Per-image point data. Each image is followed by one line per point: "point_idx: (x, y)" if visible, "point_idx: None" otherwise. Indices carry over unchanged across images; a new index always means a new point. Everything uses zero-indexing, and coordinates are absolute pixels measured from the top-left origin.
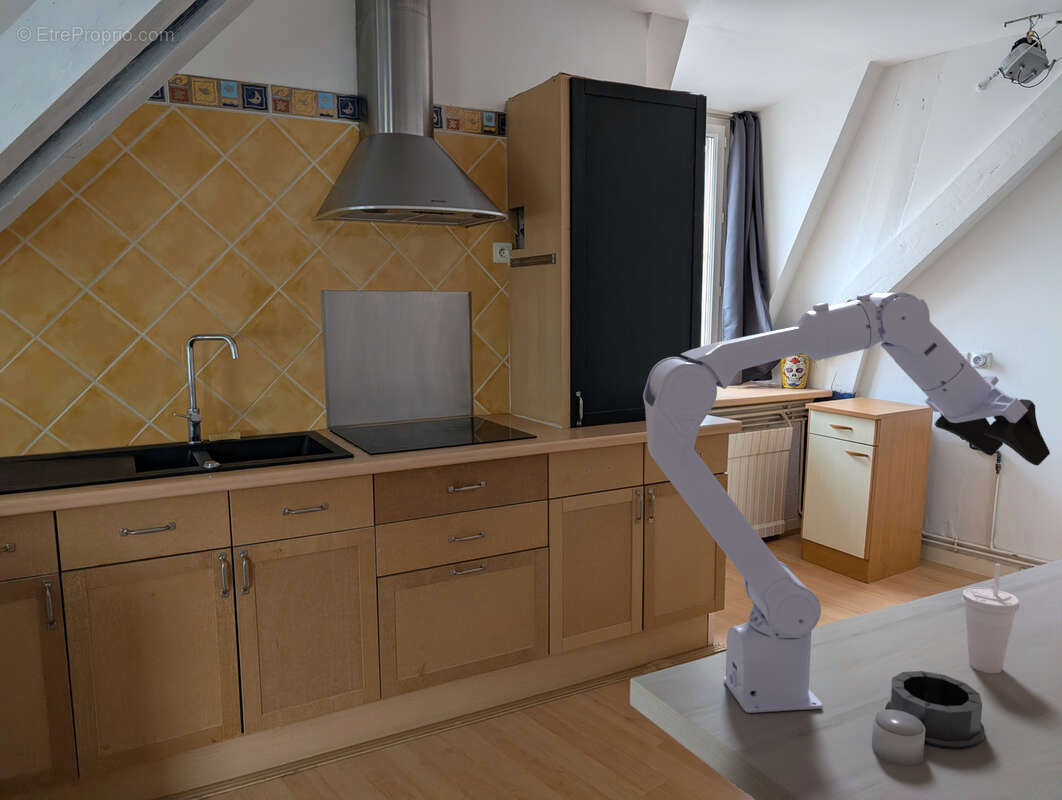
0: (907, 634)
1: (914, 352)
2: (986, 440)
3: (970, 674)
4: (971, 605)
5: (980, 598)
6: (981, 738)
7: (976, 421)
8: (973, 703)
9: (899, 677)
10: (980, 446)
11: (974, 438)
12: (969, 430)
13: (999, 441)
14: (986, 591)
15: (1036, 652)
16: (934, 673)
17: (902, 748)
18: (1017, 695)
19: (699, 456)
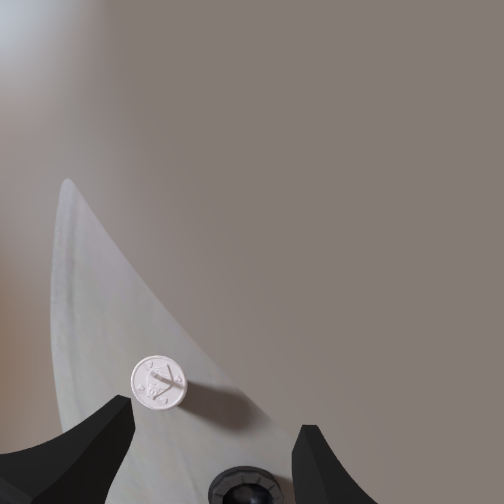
0: (98, 401)
1: None
2: (117, 444)
3: (178, 412)
4: (161, 410)
5: (161, 399)
6: (276, 481)
7: (86, 479)
8: (273, 489)
9: None
10: (121, 458)
11: (109, 475)
12: (97, 493)
13: (125, 408)
14: (148, 378)
15: (160, 321)
16: (220, 487)
17: None
18: (219, 404)
19: None
